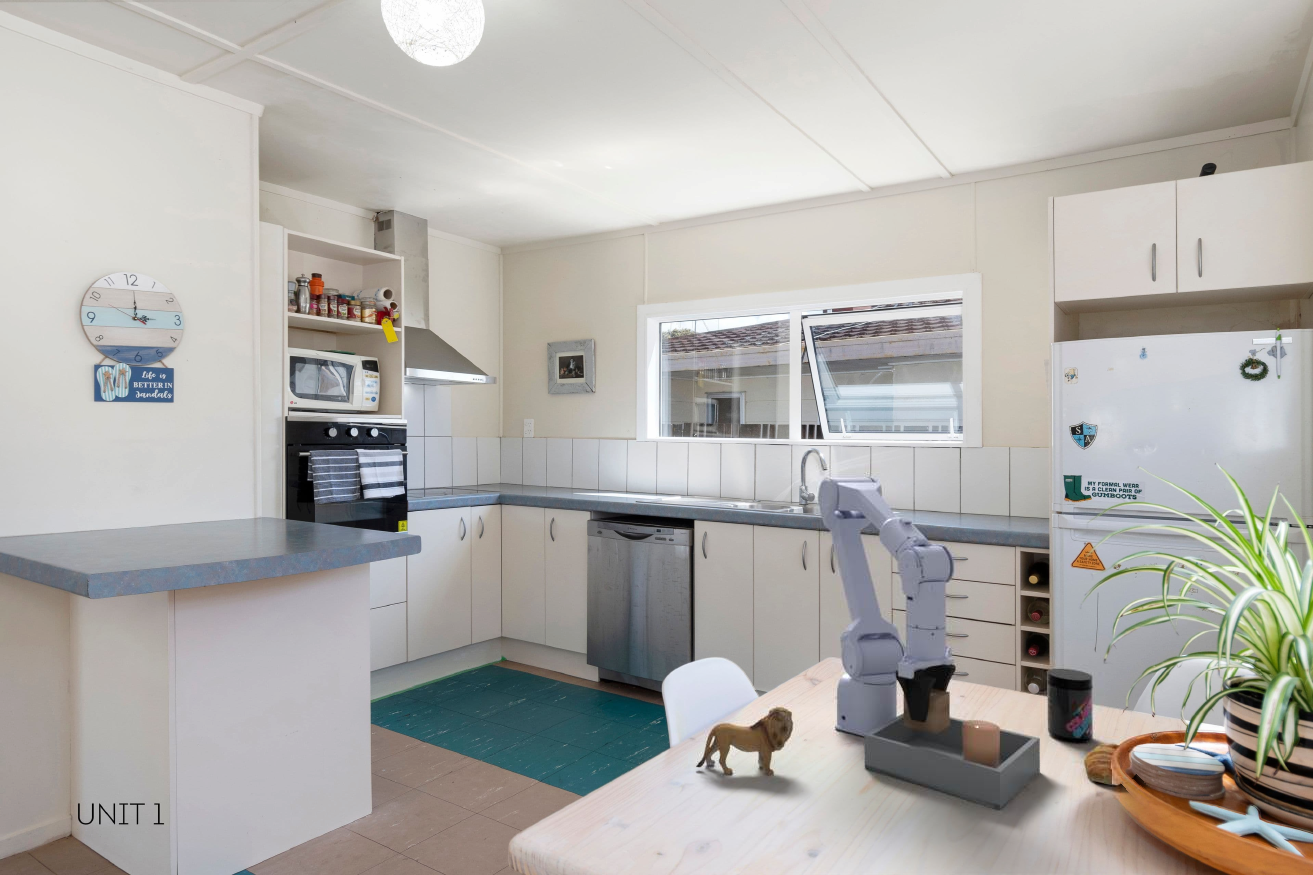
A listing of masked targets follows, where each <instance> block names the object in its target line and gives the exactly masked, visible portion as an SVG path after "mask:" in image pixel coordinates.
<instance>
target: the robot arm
mask: <svg viewBox="0 0 1313 875" xmlns="http://www.w3.org/2000/svg"><path fill="white" fill-rule="evenodd" d="M817 493H818V495H817V501H818V506H819V510H820V515H821V519H822V523H823V525H824V527H825V528H827V529H828V530H829V532H830V536H831V540H832V541H831V542H832V545H833V550H834V553H835V557H836V561H837V566H838V570H839V571H838V572H839V574H840V577H841V578H840V579H841V582H842V588H843V592H844V595H845V599H846V603H847V609H848V611H849V617H850V620H851V623H850V624H849V625H848V626H847V627H846V629H844V631H842V634H841V636H840V638H839V639H840V645H841V647H840V648H841V653H840V654H841V656H840V657H841V658H840V659H841V662H842V666H843V669H844V671H845V673H843V674H842V675H841V677H840V678H839V681H838V684H837V688H836V689H837V690H836V724H835V725H834V728H835V729H837V730H840V731H842V732H847V733H850V734H854V735H856V736H860V737H864V738H865V734H867V733H869V732H871V731H872V730H874V729H876V728H878V727H880V726H881V725H883V724H885V723H887V722H889V721H890V720H892V719H894V718H896V717H898V714H897V712H898V711H897V705H898V703H897V701H898V698H897V694H898V693H897V691H898V690H897V688H898V687H897V686H898V685H897V684H899V686H900V687H901V689H902V690H901V691H902V693H903V696H904V695H905V698H906V702H907V706H908V710H909V714H910V718H911V720H915V721H919V722H926V718H927V714H928V706H929V698H930V694H931V690H932V689H937V690H942V691H946V692H947V690H948V687H949V684H950V683H951V682H950V681H951V679H952V678H953V675H954V673H955V672H956V665H955V664H954V663H955V659H954V658H953V657H952V646H948V645H947V630H946V629H947V628H946V627H947V620H946V619H947V614H946V612H947V608H946V605H947V604H946V602H947V601H946V599H947V597H946V595H947V593H946V592H947V591H946V589H947V588H946V584H947V583H949V582H951V580H952V579H953V576H954V573H955V562H954V557H953V555H952V553H951V552H950V550H949V548H948V547H947V546H946V545H944V544H936V543H935V542H930V541H929V540H928V539H927V538H926V537H925V536H924V534H923V533H922V532H921V531H920V530H919V529H918V528H917V527H916V526H915V525H914V524H913V521H912V520H911V519H910V518H909V517H903V516H897V515H896V514H895V512H894V511H893V510H892V508H891V507H890V506H889V505H888V503H887V502H886V501H885V499H884V498H883V491H882V485H881V484H880V483H879V482H878V480H877V479H876V478H875V477H874V476H866V477H832V476H826V477H824V478H823V479H822V481H821V482H820V485H819V488H818V492H817ZM870 524H872V525H874V527H875V528H876V529H878V530H879V535H878V537H879V538H878V539H879V541H880V543H881V545H883V547H885V548H886V550H887V551H888V552H889V554H891V556H892V557H893V558H894V559H895V561H896V562H897V571H898V575H899V578H900V580H901V590H902V593H903V595H905V644H904V642H903V640H902V639H901V636H900V634H899V631H898V630H899V629H898V628H897V627H896V626H895V625H894V624H893V623H891V622H889V621H887V620H886V619H885V618H884V617H882V613H881V610H880V606H879V603H878V598H877V594H876V590H875V587H874V582H873V579H872V575H871V571H870V567H869V562H868V560H867V559H868V558H867V556H866V552H865V547H864V543H863V539H862V535H861V531H862V530H863V529H864V528H866V527H868V526H869V525H870ZM897 682H898V683H897Z"/></svg>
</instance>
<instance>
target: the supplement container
mask: <svg viewBox="0 0 1313 875" xmlns="http://www.w3.org/2000/svg"><path fill="white" fill-rule="evenodd" d="M1046 683H1047V692H1046V693H1047V694H1046V695H1047V696H1046V697H1047V731H1048V733H1049V735H1050V736H1051V737H1052V738H1054V739H1055V740H1059V741H1062V742H1066V743H1070V744H1086V743H1089V742H1091V741H1092V739H1093V737H1094V736H1093V735H1094V733H1093V730H1094V727H1093V725H1094V724H1093V723H1094V721H1093V713H1094V712H1093V711H1094V710H1093V708H1094V707H1093V706H1094V705H1093V702H1094V701H1093V687H1094V685H1093V683H1094V682H1093V675H1092V674H1090V673H1087V672H1084V671H1081V670H1077V669H1070V668H1051V669H1048V670H1046Z"/></svg>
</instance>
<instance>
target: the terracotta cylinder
mask: <svg viewBox="0 0 1313 875" xmlns="http://www.w3.org/2000/svg"><path fill="white" fill-rule="evenodd" d="M1000 729H1001V728H1000V726H999V725H997V724H995V723H994V722H990V721H987V720H980V719H979V720H978V719H970V720H965V721H964V722H963V723H962V740H963V760H966V761H970V762H974V763H977V764H981V765H985V766H988V767H992V768H997V767H999V766H1000Z"/></svg>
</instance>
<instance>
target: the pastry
mask: <svg viewBox="0 0 1313 875" xmlns="http://www.w3.org/2000/svg"><path fill="white" fill-rule="evenodd" d="M1120 746H1122V745H1120V744H1117V743H1106V744H1104V743H1099V746H1098V745H1097V746H1095V747H1094V749H1092V750H1090V751H1089V752H1088V753H1087V754H1086V756H1085V758H1084V760H1083V765H1084V768H1085V771H1086V772H1085V773H1086V777H1087V778H1088V779H1089V780H1090V781H1091V782H1094V783H1095V782H1097V783H1098V782H1099V783H1103V784H1106V785H1110V786H1113V785H1112V769H1111V758H1112V755H1113V753H1114V751H1116V749H1117V748H1118V747H1120Z"/></svg>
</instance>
